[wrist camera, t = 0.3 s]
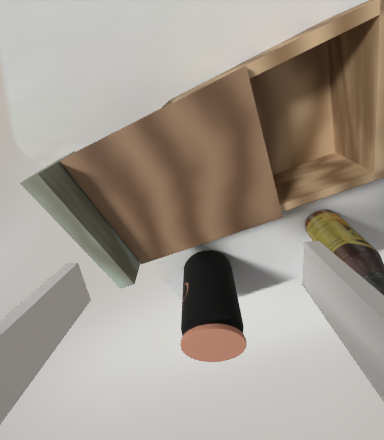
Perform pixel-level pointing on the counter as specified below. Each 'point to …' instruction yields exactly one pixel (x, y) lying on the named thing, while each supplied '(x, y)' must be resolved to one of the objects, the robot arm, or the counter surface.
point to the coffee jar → (210, 309)
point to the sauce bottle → (347, 246)
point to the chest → (322, 105)
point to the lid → (165, 180)
